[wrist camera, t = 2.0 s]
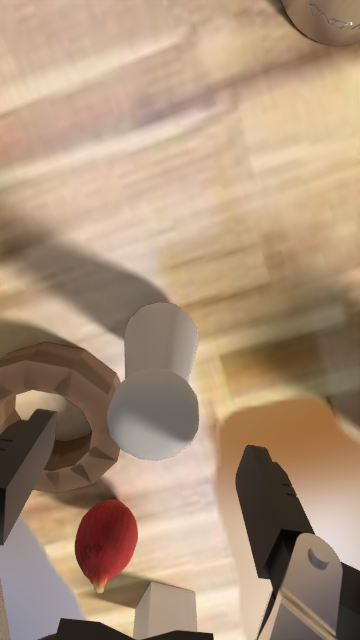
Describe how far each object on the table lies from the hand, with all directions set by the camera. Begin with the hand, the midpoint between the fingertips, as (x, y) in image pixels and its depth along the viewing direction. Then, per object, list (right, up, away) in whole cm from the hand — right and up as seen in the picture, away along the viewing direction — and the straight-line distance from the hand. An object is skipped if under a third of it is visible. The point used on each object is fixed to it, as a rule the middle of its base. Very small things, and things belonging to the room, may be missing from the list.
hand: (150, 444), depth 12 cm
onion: (-6, -15, +19) cm, 25 cm away
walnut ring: (-10, -3, +15) cm, 19 cm away
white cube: (-1, -31, +25) cm, 40 cm away
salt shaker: (0, +5, +13) cm, 14 cm away
